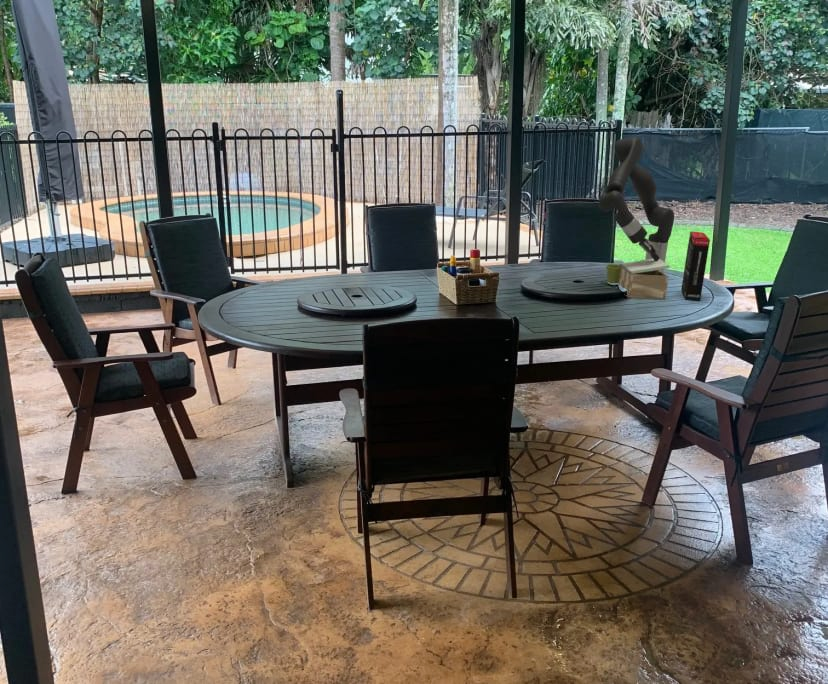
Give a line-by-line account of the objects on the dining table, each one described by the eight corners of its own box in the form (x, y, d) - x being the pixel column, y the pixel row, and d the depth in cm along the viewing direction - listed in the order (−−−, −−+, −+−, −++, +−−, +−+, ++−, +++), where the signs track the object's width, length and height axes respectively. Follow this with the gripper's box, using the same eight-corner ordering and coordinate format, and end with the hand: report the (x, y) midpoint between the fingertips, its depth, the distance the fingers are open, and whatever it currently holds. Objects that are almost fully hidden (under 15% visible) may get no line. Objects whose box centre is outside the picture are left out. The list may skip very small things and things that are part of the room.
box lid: (619, 266, 341) (619, 263, 341) (657, 260, 341) (657, 257, 340) (629, 274, 326) (629, 271, 326) (669, 268, 326) (669, 265, 326)
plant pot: (602, 285, 348) (605, 266, 346) (604, 281, 357) (606, 263, 354) (623, 288, 346) (626, 269, 343) (624, 284, 354) (627, 265, 352)
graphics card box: (700, 301, 330) (712, 238, 322) (684, 299, 331) (694, 236, 323) (695, 292, 346) (705, 232, 338) (679, 291, 348) (689, 230, 339)
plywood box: (617, 288, 345) (621, 266, 342) (653, 290, 345) (656, 268, 342) (627, 297, 329) (631, 274, 326) (664, 299, 330) (668, 276, 327)
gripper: (645, 226, 325) (669, 257, 329) (636, 221, 337) (659, 251, 341) (631, 238, 326) (655, 268, 330) (622, 233, 339) (646, 262, 343)
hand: (657, 259), depth 336 cm, fingers closed
